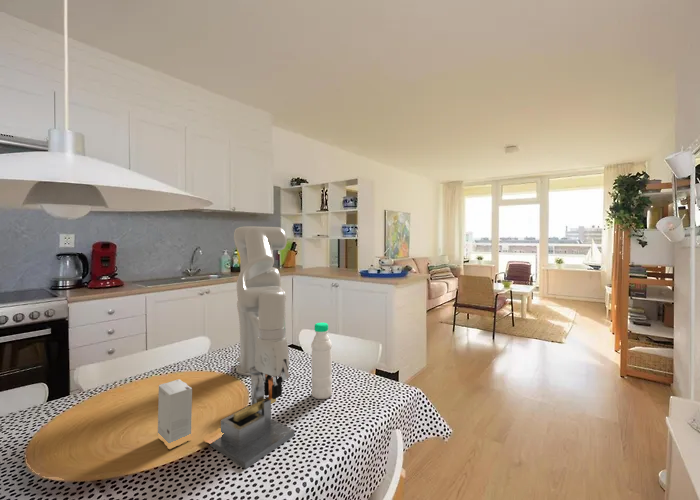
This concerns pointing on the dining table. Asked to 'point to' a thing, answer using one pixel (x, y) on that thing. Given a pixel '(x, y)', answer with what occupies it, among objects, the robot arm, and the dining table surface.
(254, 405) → the lock pin
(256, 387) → the grey cylinder
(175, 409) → the skincare box
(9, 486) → the dining table surface
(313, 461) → the dining table surface
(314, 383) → the water bottle
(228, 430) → the dock
